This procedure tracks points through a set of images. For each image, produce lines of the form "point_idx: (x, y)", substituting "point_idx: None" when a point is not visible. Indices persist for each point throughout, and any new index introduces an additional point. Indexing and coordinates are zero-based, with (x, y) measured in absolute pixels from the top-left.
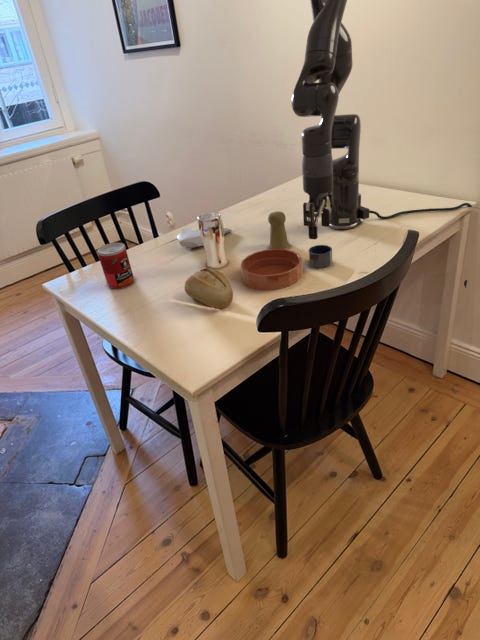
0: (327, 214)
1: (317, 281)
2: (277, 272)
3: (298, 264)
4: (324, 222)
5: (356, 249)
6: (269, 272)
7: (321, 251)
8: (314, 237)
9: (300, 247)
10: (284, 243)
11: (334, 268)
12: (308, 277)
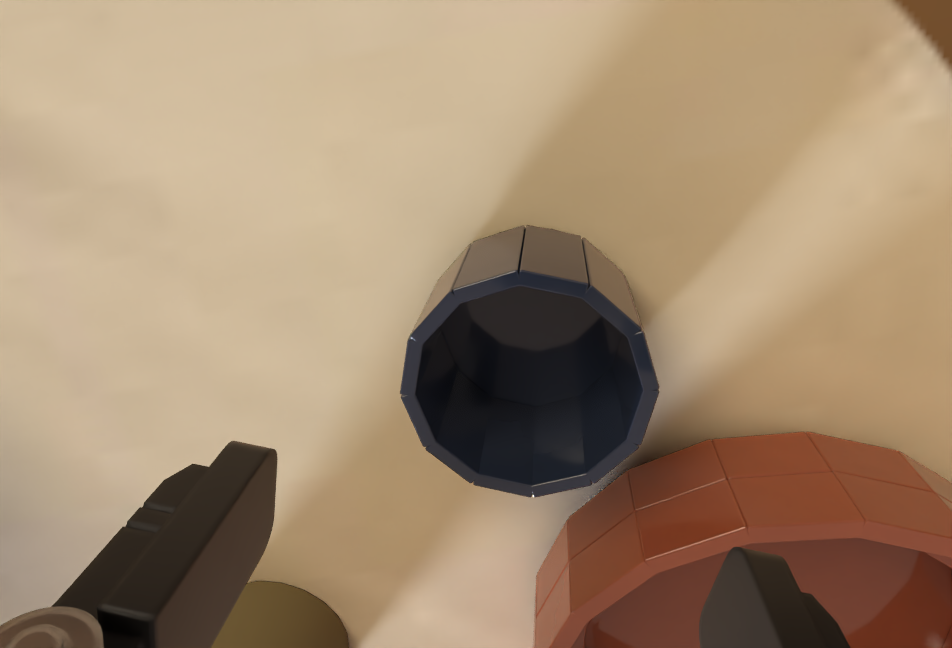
0: (162, 631)
1: (859, 294)
2: None
3: (893, 537)
4: (248, 546)
5: (150, 39)
6: None
7: (429, 364)
8: (811, 602)
9: None
10: (289, 641)
11: (594, 188)
12: (774, 377)
